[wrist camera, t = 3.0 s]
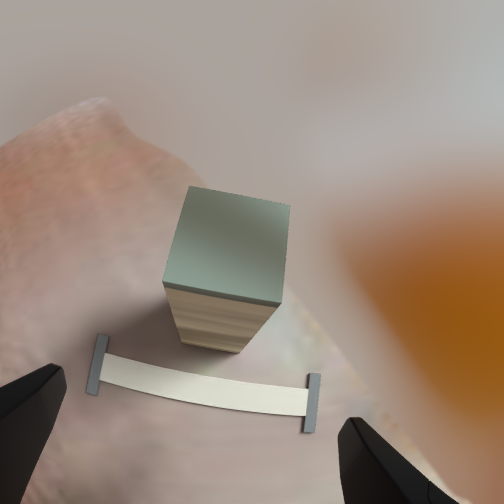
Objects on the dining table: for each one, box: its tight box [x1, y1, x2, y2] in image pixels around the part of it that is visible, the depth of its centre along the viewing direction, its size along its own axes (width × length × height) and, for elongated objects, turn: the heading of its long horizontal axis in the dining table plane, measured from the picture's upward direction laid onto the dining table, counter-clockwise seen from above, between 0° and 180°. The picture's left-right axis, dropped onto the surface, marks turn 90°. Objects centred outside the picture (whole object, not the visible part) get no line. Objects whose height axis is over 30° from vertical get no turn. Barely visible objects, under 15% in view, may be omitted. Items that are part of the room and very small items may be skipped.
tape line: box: [86, 334, 321, 433], centre depth 19 cm, size 16×4×1 cm, turn 83°
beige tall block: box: [162, 186, 290, 353], centre depth 16 cm, size 4×4×12 cm
